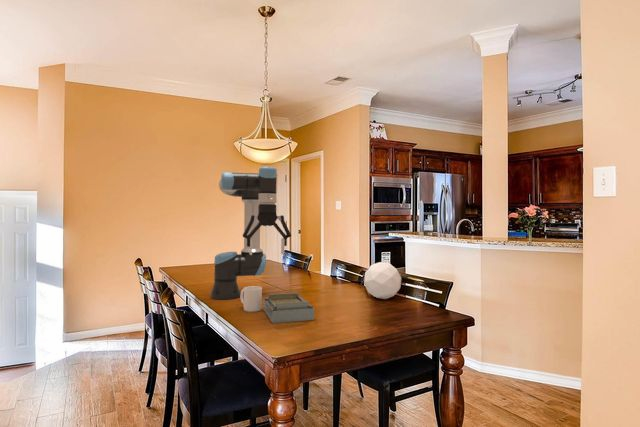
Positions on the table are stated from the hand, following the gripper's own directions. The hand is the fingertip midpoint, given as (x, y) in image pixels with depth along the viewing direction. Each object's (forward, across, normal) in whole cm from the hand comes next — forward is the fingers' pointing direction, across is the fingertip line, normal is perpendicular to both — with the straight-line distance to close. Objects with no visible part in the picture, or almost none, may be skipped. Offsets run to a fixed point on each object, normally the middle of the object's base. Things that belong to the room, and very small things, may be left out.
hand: (266, 254), depth 166 cm
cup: (+28, -4, +20) cm, 35 cm away
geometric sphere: (+28, +67, +25) cm, 77 cm away
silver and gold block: (+28, +11, +6) cm, 30 cm away
